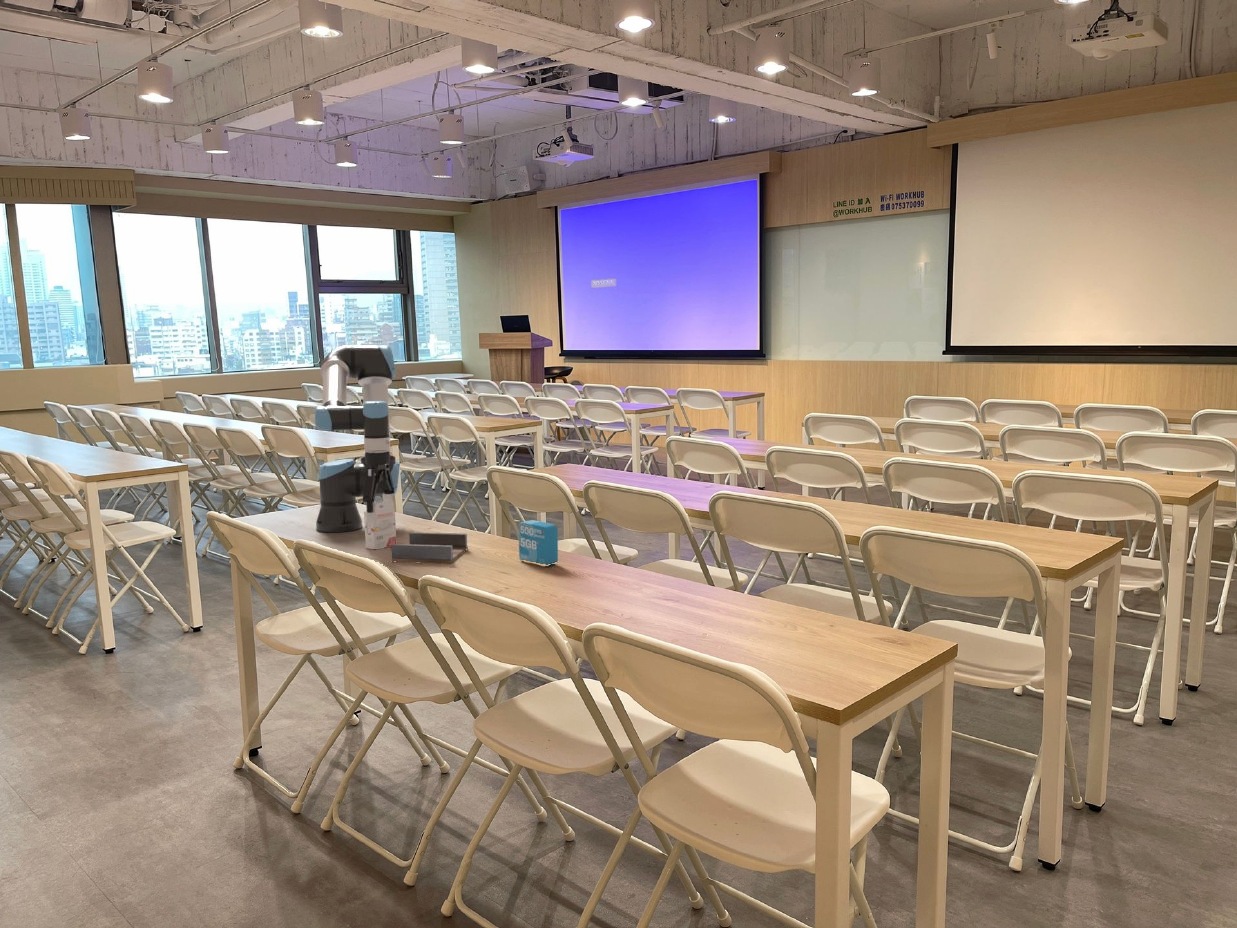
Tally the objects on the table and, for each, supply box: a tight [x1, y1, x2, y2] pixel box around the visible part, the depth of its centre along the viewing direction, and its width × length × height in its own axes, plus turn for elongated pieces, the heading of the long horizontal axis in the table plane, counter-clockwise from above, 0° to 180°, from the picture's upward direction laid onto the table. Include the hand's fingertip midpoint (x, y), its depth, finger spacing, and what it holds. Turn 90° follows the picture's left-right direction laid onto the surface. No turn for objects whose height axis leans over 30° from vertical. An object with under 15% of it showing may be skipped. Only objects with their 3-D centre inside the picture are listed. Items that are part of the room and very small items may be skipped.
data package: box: [518, 519, 559, 565], centre depth 261 cm, size 12×4×12 cm, turn 49°
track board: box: [390, 531, 469, 565], centre depth 270 cm, size 18×18×5 cm
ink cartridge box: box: [363, 499, 397, 550], centre depth 280 cm, size 9×5×15 cm, turn 143°
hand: (379, 518), depth 279 cm, fingers open, 13 cm apart
